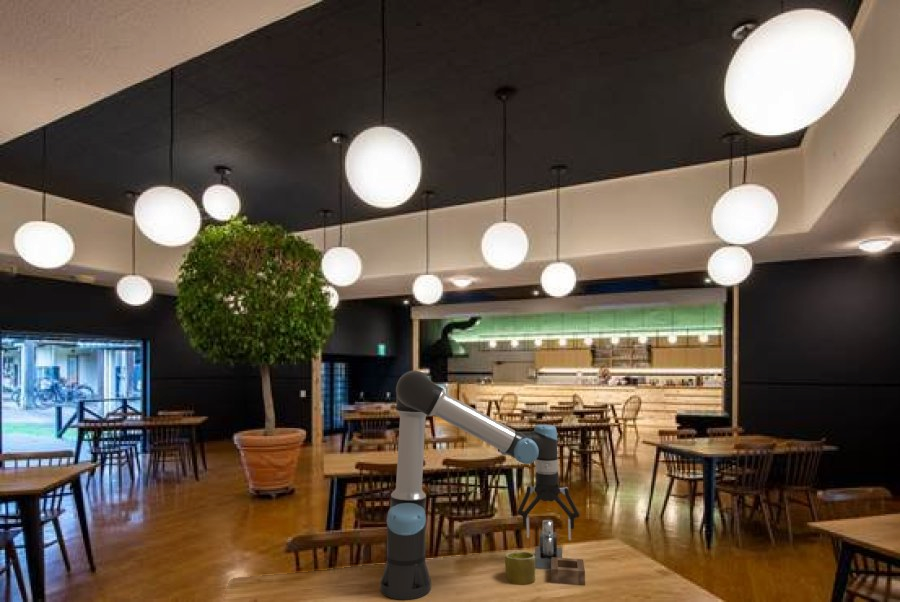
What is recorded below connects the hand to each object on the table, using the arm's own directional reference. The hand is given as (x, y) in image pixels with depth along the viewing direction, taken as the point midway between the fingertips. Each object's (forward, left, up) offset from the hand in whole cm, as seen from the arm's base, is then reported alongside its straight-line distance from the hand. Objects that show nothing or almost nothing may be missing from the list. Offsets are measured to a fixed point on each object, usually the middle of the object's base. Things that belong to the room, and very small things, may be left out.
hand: (548, 537), depth 178 cm
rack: (+6, -9, -10) cm, 14 cm away
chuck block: (0, +2, -10) cm, 10 cm away
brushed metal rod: (0, 0, -9) cm, 9 cm away
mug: (-9, -11, -10) cm, 17 cm away
